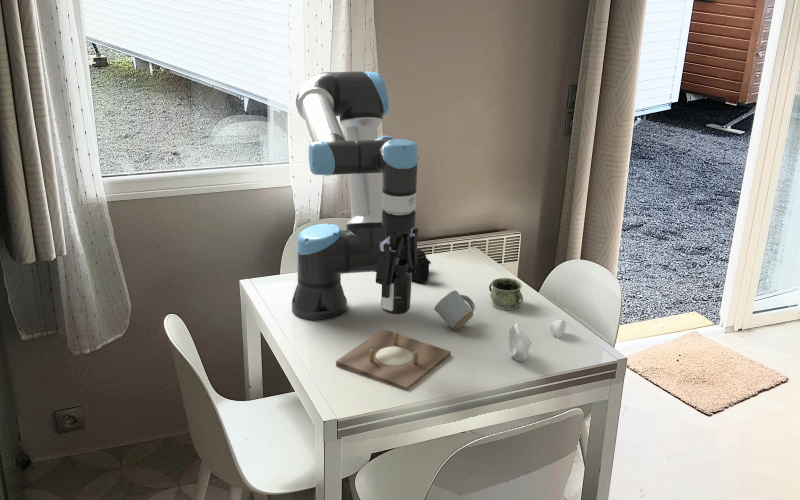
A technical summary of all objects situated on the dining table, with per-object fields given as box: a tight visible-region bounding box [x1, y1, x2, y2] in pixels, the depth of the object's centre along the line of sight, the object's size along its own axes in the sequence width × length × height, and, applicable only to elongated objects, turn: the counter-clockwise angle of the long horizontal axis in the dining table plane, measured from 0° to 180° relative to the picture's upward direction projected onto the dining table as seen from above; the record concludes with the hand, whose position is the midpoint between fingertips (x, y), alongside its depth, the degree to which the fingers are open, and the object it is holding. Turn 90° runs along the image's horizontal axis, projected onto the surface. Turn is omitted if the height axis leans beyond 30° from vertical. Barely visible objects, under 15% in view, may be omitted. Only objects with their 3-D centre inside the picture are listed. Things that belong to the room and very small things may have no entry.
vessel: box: [488, 277, 524, 311], centre depth 218 cm, size 12×9×6 cm
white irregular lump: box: [549, 319, 567, 339], centre depth 201 cm, size 5×3×5 cm, turn 149°
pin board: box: [335, 328, 452, 391], centre depth 187 cm, size 20×20×4 cm
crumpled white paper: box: [508, 322, 532, 362], centre depth 188 cm, size 10×4×10 cm, turn 5°
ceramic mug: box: [434, 289, 476, 331], centre depth 204 cm, size 11×8×8 cm
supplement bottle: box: [380, 258, 413, 315], centre depth 180 cm, size 7×7×12 cm
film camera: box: [397, 248, 432, 283], centre depth 236 cm, size 15×10×9 cm, turn 54°
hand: (396, 303), depth 182 cm, fingers closed on supplement bottle, 7 cm apart
